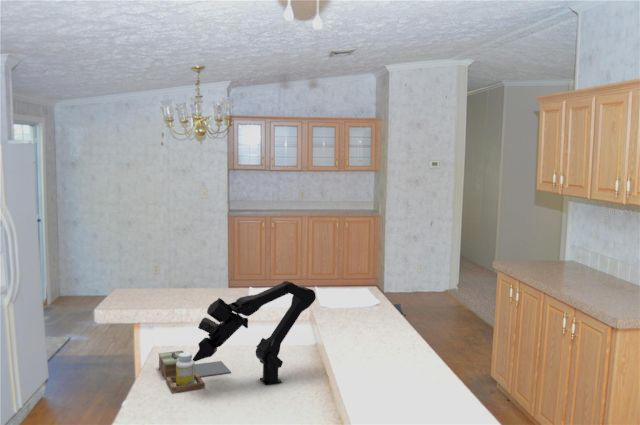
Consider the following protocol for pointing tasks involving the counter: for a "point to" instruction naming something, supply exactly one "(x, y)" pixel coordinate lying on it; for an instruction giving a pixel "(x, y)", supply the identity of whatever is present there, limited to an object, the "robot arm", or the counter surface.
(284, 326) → the robot arm
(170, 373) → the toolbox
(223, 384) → the counter surface
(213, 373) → the slate mat
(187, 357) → the pill bottle
